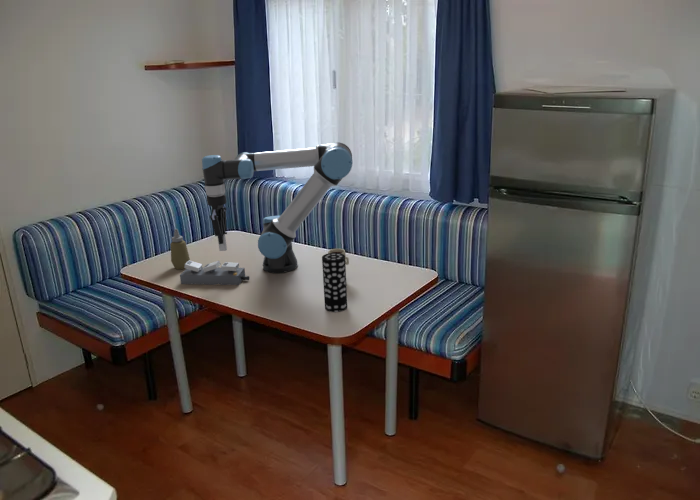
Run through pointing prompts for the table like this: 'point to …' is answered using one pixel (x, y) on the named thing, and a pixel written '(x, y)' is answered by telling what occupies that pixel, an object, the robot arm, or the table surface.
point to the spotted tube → (334, 282)
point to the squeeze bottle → (179, 251)
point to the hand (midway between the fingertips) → (223, 250)
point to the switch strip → (214, 276)
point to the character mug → (341, 253)
